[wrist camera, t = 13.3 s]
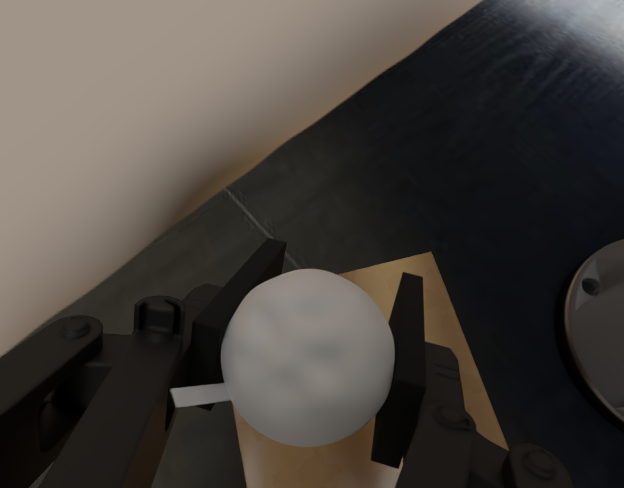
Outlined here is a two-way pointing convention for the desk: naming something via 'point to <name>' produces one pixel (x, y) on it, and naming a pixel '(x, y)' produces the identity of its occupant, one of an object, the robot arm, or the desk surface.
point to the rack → (357, 447)
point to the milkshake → (303, 360)
